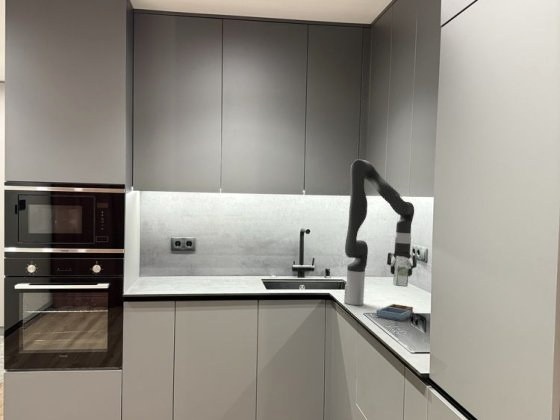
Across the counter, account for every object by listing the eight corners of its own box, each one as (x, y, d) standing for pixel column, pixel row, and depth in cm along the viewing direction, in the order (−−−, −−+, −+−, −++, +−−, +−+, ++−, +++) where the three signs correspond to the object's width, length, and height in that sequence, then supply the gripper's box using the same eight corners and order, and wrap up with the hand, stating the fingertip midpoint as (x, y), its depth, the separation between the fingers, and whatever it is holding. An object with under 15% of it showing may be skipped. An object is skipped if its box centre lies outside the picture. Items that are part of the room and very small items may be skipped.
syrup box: (404, 285, 229) (406, 256, 229) (407, 287, 223) (409, 257, 223) (392, 284, 229) (394, 255, 229) (396, 286, 223) (397, 256, 223)
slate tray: (376, 316, 213) (376, 310, 213) (386, 312, 222) (386, 306, 222) (401, 321, 206) (401, 314, 206) (410, 317, 216) (410, 310, 216)
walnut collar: (385, 311, 225) (386, 306, 225) (393, 308, 233) (393, 303, 233) (405, 315, 219) (406, 310, 219) (412, 312, 227) (412, 307, 227)
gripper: (419, 243, 225) (417, 276, 225) (391, 240, 233) (389, 272, 233) (414, 243, 219) (412, 277, 219) (386, 241, 227) (384, 274, 227)
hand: (400, 275), depth 226 cm, fingers closed on syrup box, 8 cm apart
